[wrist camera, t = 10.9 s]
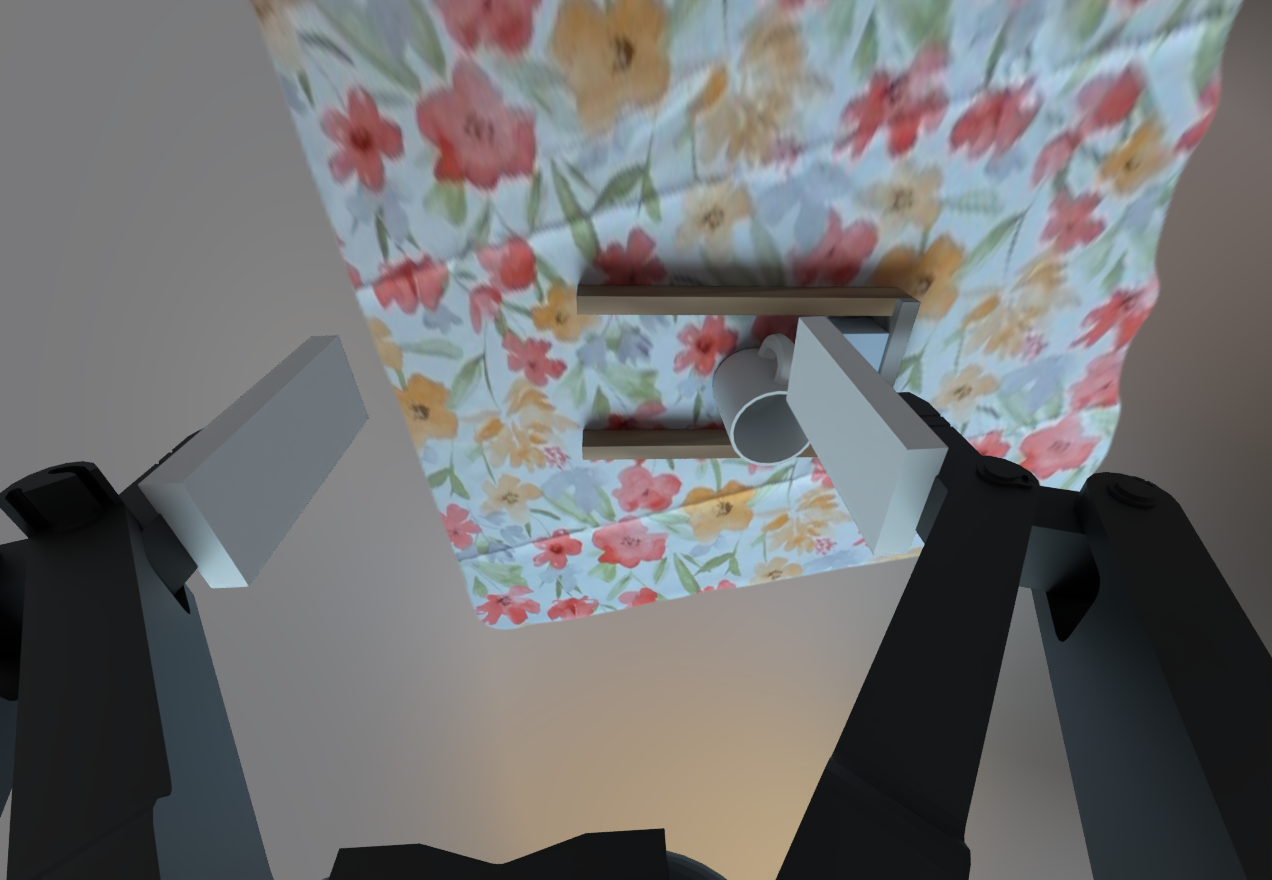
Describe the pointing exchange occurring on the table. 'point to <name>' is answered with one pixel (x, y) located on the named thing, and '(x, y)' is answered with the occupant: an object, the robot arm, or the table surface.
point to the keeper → (864, 337)
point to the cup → (760, 403)
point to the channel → (882, 303)
